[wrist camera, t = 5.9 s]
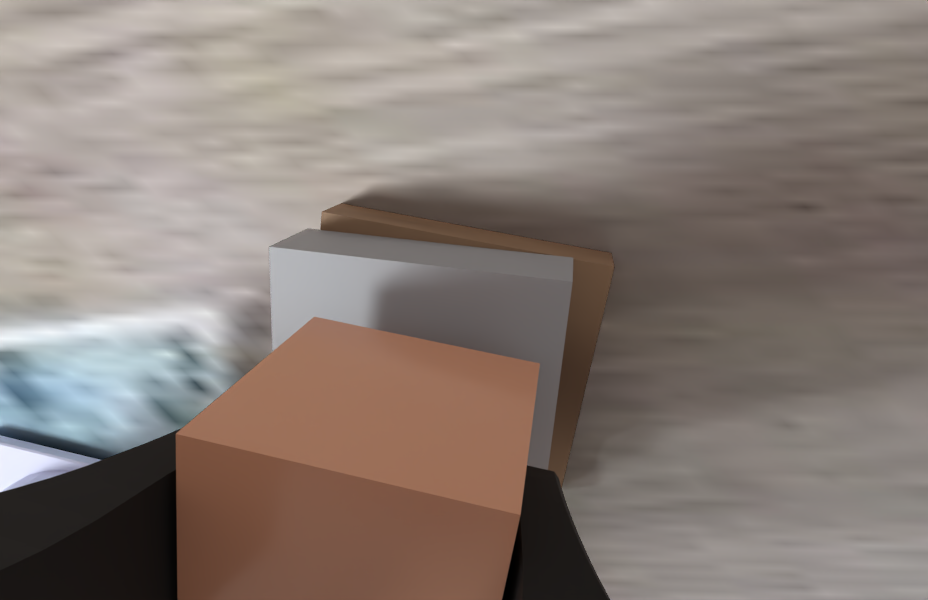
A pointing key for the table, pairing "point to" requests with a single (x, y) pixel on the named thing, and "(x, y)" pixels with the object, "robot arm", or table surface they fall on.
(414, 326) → the slate slab
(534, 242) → the walnut slab
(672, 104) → the table surface
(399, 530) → the terracotta block
